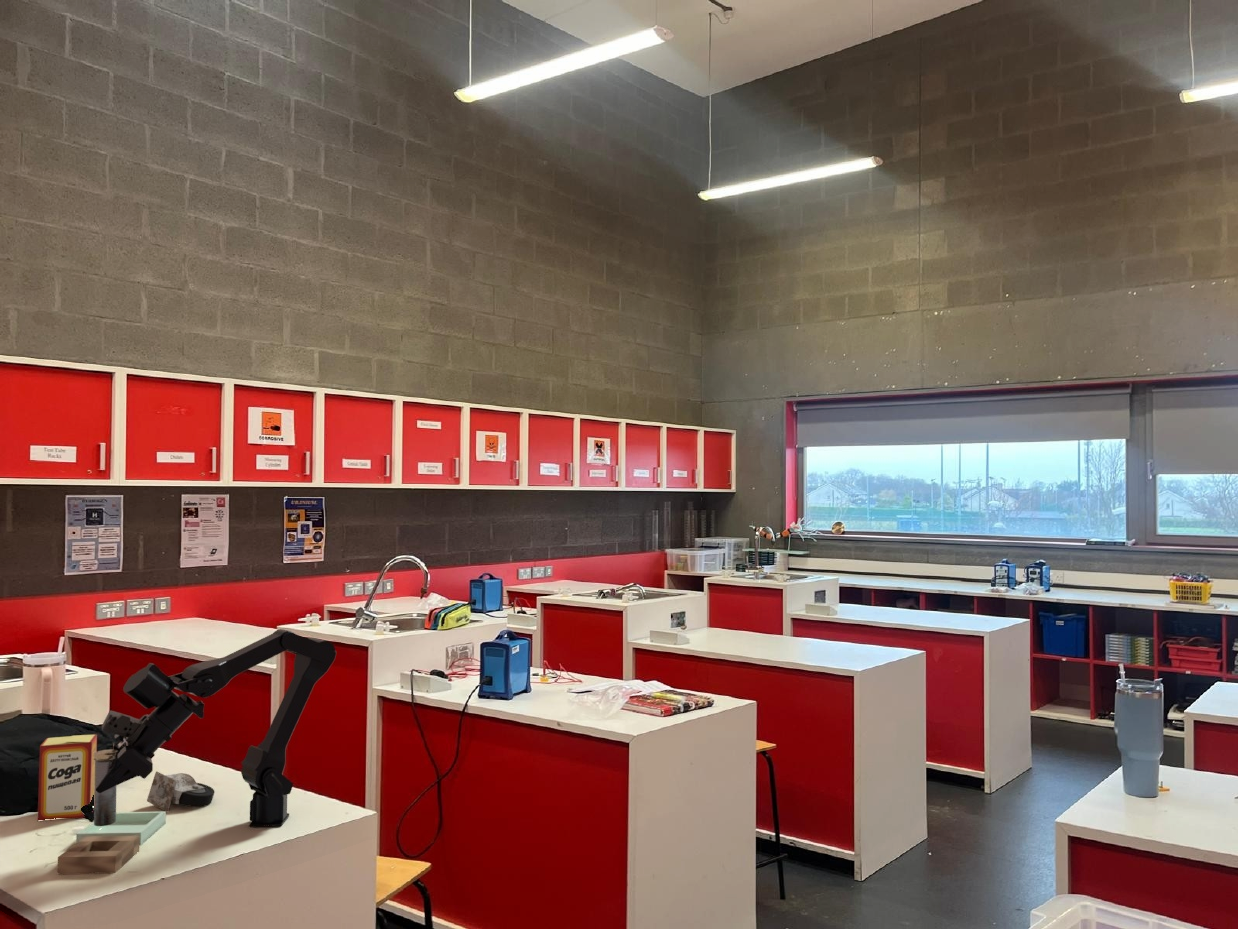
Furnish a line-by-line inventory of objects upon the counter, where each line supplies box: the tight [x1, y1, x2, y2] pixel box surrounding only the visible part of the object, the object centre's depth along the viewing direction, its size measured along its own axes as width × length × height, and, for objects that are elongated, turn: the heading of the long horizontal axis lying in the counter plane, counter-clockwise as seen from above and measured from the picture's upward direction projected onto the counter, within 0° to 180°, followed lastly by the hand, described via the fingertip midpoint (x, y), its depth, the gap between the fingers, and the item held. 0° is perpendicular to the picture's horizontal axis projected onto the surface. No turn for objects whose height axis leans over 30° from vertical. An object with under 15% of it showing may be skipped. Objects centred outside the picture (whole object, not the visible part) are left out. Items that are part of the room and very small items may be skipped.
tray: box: [75, 810, 167, 846], centre depth 185 cm, size 12×12×2 cm
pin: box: [93, 748, 118, 826], centre depth 174 cm, size 4×4×13 cm
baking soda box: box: [37, 734, 98, 821], centre depth 197 cm, size 10×6×16 cm
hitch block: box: [56, 836, 140, 875], centre depth 172 cm, size 10×10×3 cm
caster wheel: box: [146, 771, 215, 812], centre depth 204 cm, size 7×11×10 cm
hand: (97, 788), depth 173 cm, fingers closed on pin, 4 cm apart
